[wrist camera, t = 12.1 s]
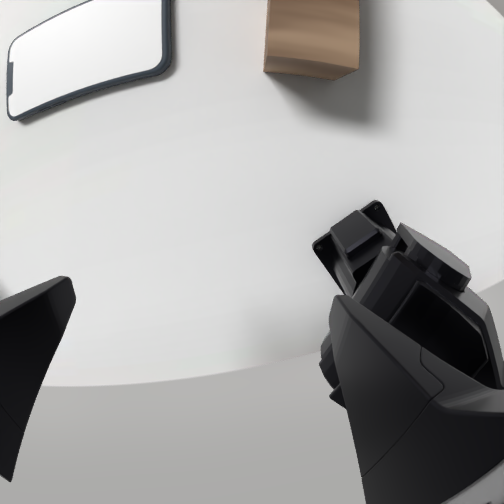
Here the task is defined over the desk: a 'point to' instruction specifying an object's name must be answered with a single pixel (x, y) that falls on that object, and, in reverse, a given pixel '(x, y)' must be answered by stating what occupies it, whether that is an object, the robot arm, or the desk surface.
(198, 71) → the desk surface
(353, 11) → the wooden block
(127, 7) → the phone case
